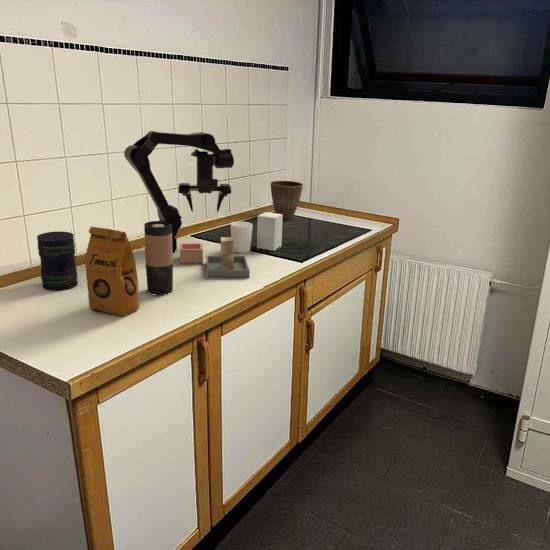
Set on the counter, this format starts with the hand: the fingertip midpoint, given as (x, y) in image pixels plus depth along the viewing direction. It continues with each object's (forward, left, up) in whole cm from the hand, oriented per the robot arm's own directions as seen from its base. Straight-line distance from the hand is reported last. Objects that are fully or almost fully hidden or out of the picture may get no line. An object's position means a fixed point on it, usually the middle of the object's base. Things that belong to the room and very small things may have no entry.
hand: (204, 211), depth 196 cm
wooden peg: (+7, -28, -12) cm, 31 cm away
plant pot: (+38, +46, -13) cm, 61 cm away
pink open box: (-5, -17, -13) cm, 22 cm away
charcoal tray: (+7, -28, -13) cm, 32 cm away
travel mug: (-14, -46, -13) cm, 50 cm away
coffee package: (-25, -59, -13) cm, 65 cm away
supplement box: (+24, -2, -13) cm, 27 cm away
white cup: (+13, -6, -13) cm, 19 cm away
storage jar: (-43, -40, -13) cm, 60 cm away
